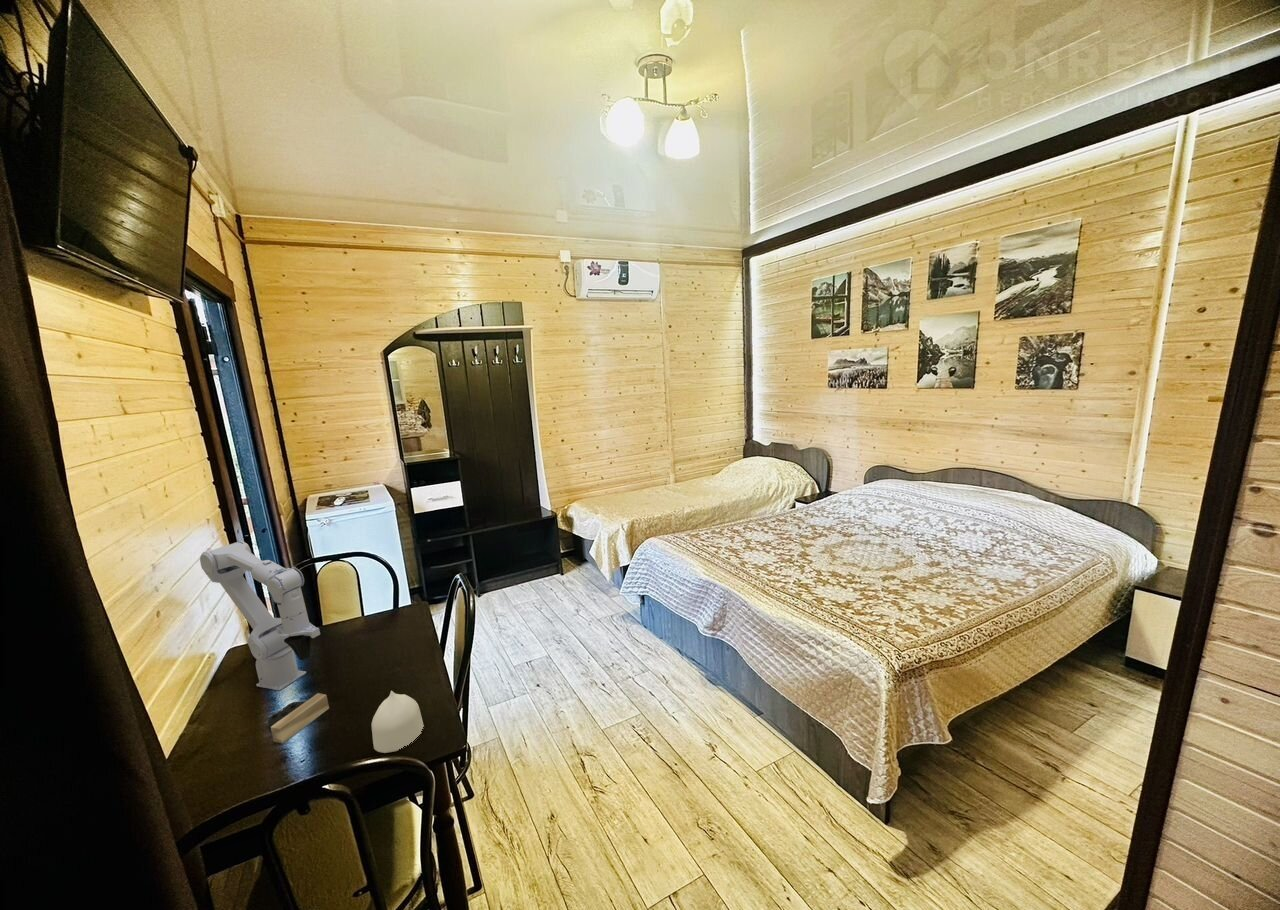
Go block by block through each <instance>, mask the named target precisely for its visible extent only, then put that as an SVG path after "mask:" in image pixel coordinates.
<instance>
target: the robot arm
mask: <svg viewBox="0 0 1280 910" xmlns="http://www.w3.org/2000/svg"><path fill="white" fill-rule="evenodd" d="M199 562H200V567H201V570H203V572H204V573H205V575H206V576H207V577H208V579H209V580H210V581H211V582H212V583H217V584H220V585H221V587H222V589H224V591H225V593H226V594H227V595H228V596H229V598H230V600H231V601H232V602H233V603H234V605H235V606H236V607H237V609H238V610H239V612H240V613H241V614H242V616H243V617H244V619H245V620H246V621H247V622H248V624H249V625H250V627H251V629H252V631H250V632H251V633H250V634H249V636H248V637H247V640H246V641H247V642H246V643H247V645H248V647H249V651H250V652H251V654H252V656H253V657H254V659H255V660H256V661H255V668H256V670H255V671H256V675H257V677H258V683H256V687H259V688H264V689H270V690H275V691H281V690H282V689H284V688H286V687H288V686H289V685H290V684H292V683H294V682H295V681H297V680H298V679H300V678H302V677H303V676H304V675H306V674H307V671H306V670H305V671H304V670H299V669H298V664H297V659H298V660H299V661H305V660H306V659H308V658H309V657H311V655H310V654H311V645H312V641H313V639H315V638H316V637H318V636H320V635H321V632H320V631H321V630H320V628H319V627H316V626H315V625H314V624H312V623H311V622H310V621H309V617H308V611H307V608H306V603H305V598H304V596H303V591H302V587H303V586H304V584H305V578H304V574H303V573H302V571H301V570H300V569H298V568H297V567H294V566H293V567H291V568H290V567H288V568H286V567H283V566H281V565H280V564H278V563H276V562H274V561H272V560H270V559H265V560H262V559H260V558H259V557H257V556H256V555H255V554H253V553H252V550H251V548H250V546H249V544H248V543H246V542H245V541H244V540H238V541H236V542H233V543H230V544H227V545H224V546H220V547H218V548H214V549H211V550H206V551H203V552H202V553H201V554H200V556H199ZM246 572H250V575H251V578H252V579H254V580H255V581H257V582H258V583H261V584H263V585H265V586H266V587H267V590H268V592H269V594H270V595H271V597H272V600H273V601H274V603H276V604H277V609H278V613H279V617H273V615H272V614H271V613H270V611H269V610H268V609H267V607H266V606H265V604H264V603H263V602H262V600H261V599H260V597H259V596H258V595H257V593H256V592H255V591H254V590H253V588H252V587H251V585H250V584H249V582H248V581H247V580H246V579H245V577H244V574H245V573H246ZM296 657H297V659H296Z"/></svg>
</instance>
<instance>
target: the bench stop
mask: <svg viewBox="0 0 1280 910" xmlns="http://www.w3.org/2000/svg"><path fill="white" fill-rule="evenodd" d="M329 709H330V706H329V699H328V697H327V694H324V693H318V692H317V693H316V694H315V695H313V696H312V697H311V698H309V699H308V700H306V702H305V703H303V704H302V705H301V706H299V707H298V708H296V709H295V710H294V711H292V712H291V713H290V714H288V715H287V716H285V717H284V718H283V719H281V720H280V721H278V722H277V723H276V724H274V725H273V726H271V728H270V732H271V734H272V740H273V742H275V743H279V744H282V745H283V744H285V743H286V742H287V741H289V740H290V739H291V738H292V737H294V736H295V735H296V734H297V733H299V732H300V731H302V730H303V729H304V728H306V727H308V726H309V725H310V724H311V723H312V722H314V720H316V719H317V718H319V717H320V716H321V715H323V714H324V713H325V712H326V711H328V710H329Z"/></svg>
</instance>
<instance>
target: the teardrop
mask: <svg viewBox="0 0 1280 910" xmlns="http://www.w3.org/2000/svg"><path fill="white" fill-rule="evenodd" d="M423 721H424V720H423V718H422V713H421V709H420V707H419V704H418V703H417V701H416V700H415V699H414V698H412V697H410V696H409V695H407V694H404V693H403V694H399V693H396V692H394V691H393V690H390V693H389V696H388V697H387V698H384V700H383V701H382V702H381V704H380V705H379V706H378V708H377V710H376V711H375V714H374V715H373V717H372V721H371V732H372V735H371V736H372V744H373V750H375V751H376V752H378V753H384V754H386V753H392V752H397V751H399V749H400V750H401V748H402V749H404V748H405V747H404V746H406V747H407V745H408V746H409V744H410V743H411V742H412V743H414V742H415V741H416V740H417V739H418V738H419V737H420V736H421V735H420V734H422V732H421V731H423V730H424V728H425V725H424V722H423ZM423 727H424V728H423ZM422 729H423V730H422ZM419 735H420V736H419ZM418 736H419V737H418ZM417 737H418V738H417ZM416 738H417V739H416ZM415 739H416V740H415ZM414 740H415V741H414ZM413 741H414V742H413ZM412 743H411V744H412ZM411 744H410V745H411ZM403 747H404V748H403Z"/></svg>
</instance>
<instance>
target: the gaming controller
mask: <svg viewBox="0 0 1280 910" xmlns="http://www.w3.org/2000/svg"><path fill="white" fill-rule="evenodd" d="M306 701H307V700H306ZM306 701H293V702H291V703H288V704H287V705H285V706H284V707H283V708H281V709H280V710H278V711H277V712H276V713H274V714H272V715H271V716H270V717H269V719H268V721H267V724H268V726H269V727H270V729H271V726H273V725H274V724H276V723H277V722H278V721H280V720H281V719H283V718H284V717H285V716H287V715H288V714H290V713H291V712H292V711H294V710H295V709H296V708H298V707H299V706H301V705H302V704H303V703H305V702H306Z"/></svg>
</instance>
